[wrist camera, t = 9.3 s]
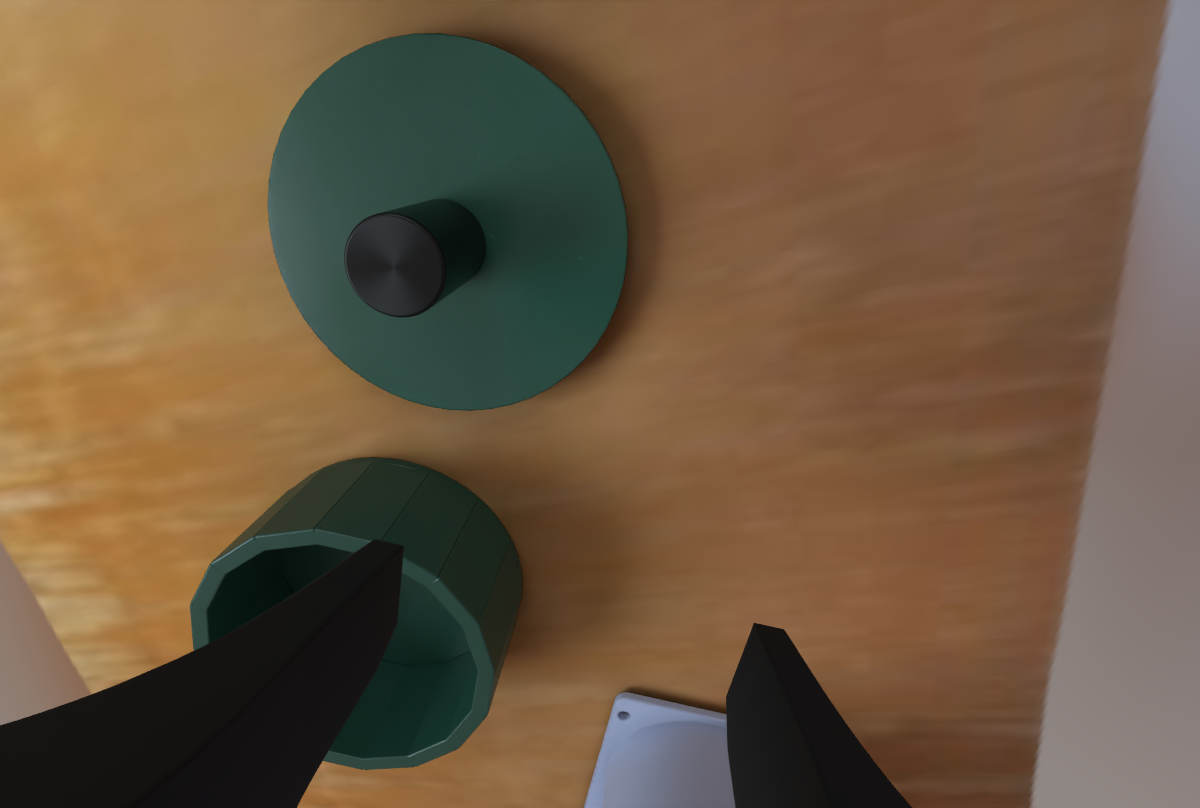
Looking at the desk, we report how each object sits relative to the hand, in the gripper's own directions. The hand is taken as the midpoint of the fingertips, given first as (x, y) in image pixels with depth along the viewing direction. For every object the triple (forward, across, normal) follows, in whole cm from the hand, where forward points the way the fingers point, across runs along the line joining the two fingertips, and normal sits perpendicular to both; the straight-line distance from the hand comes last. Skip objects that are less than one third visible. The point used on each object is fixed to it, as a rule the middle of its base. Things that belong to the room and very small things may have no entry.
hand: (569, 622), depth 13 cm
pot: (+10, +7, +9) cm, 15 cm away
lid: (+10, +6, -5) cm, 13 cm away
